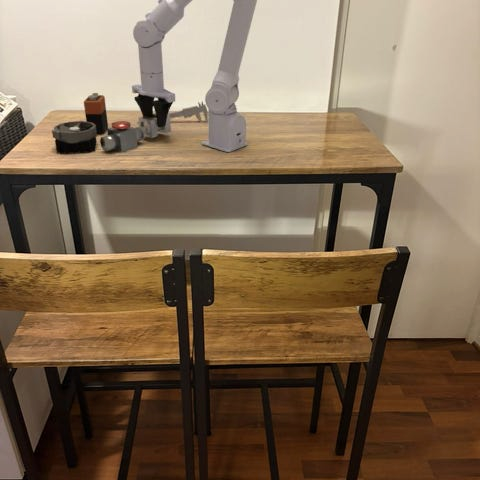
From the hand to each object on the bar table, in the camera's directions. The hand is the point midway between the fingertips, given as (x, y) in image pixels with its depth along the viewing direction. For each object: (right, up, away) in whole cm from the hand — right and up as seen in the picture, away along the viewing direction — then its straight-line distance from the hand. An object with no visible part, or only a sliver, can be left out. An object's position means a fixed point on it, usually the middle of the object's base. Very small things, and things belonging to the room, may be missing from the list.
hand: (155, 124), depth 130 cm
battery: (-17, -1, +6) cm, 18 cm away
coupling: (0, -2, +1) cm, 2 cm away
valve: (-7, -7, -6) cm, 12 cm away
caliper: (+3, +4, +14) cm, 15 cm away
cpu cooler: (-19, -8, -6) cm, 21 cm away
